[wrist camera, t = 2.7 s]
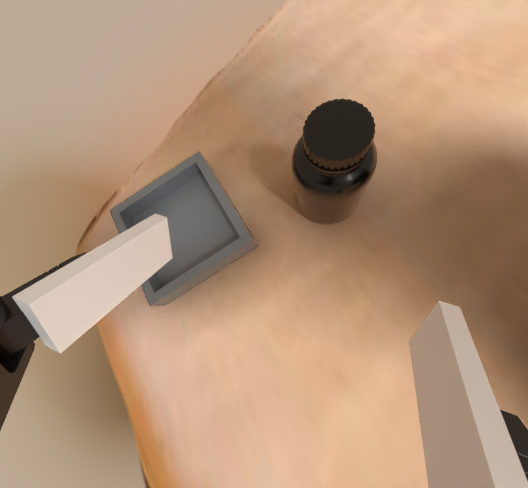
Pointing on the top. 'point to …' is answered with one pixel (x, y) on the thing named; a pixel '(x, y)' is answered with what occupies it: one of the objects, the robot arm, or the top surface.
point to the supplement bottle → (334, 160)
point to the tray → (188, 227)
